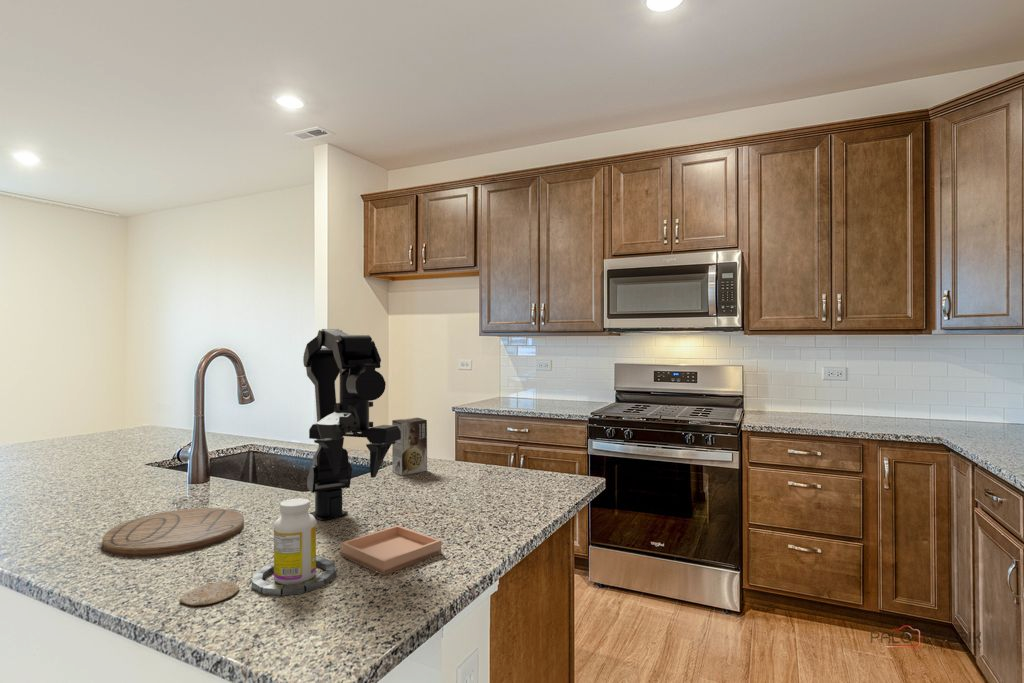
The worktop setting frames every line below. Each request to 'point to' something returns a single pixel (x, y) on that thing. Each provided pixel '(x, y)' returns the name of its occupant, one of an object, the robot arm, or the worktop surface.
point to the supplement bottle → (294, 543)
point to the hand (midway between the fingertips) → (354, 475)
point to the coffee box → (410, 446)
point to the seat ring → (291, 589)
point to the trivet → (172, 532)
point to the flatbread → (209, 593)
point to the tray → (390, 549)
